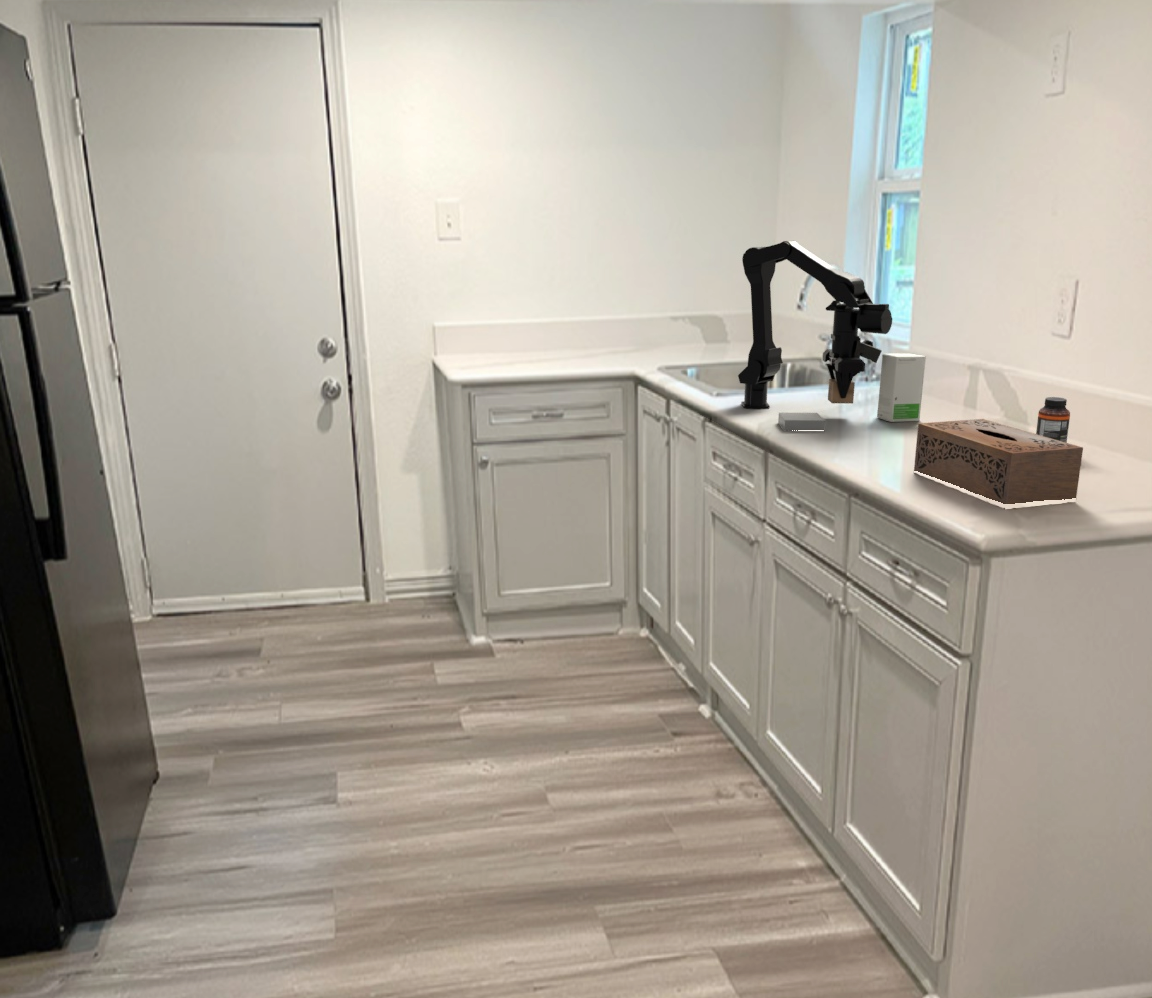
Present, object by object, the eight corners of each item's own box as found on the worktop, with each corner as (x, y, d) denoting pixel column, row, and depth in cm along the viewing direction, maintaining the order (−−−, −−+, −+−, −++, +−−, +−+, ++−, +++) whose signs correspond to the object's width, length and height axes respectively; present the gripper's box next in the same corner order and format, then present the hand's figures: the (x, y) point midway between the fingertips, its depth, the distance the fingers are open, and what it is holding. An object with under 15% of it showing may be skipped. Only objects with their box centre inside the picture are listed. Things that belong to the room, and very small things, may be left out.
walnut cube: (827, 399, 247) (829, 379, 246) (848, 399, 247) (850, 379, 246) (832, 403, 242) (833, 382, 241) (853, 403, 242) (854, 382, 241)
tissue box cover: (1075, 504, 175) (1083, 447, 172) (1005, 511, 171) (1012, 453, 168) (977, 469, 199) (982, 418, 196) (913, 474, 195) (918, 423, 192)
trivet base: (778, 425, 240) (778, 412, 239) (816, 425, 240) (817, 412, 239) (784, 433, 232) (785, 420, 231) (824, 433, 231) (825, 420, 230)
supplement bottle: (1038, 447, 215) (1045, 394, 212) (1068, 451, 211) (1075, 398, 208) (1030, 452, 211) (1036, 398, 208) (1060, 457, 207) (1067, 402, 204)
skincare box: (890, 422, 240) (895, 357, 236) (875, 417, 246) (880, 353, 242) (921, 421, 242) (927, 355, 238) (905, 415, 249) (911, 352, 244)
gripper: (890, 335, 231) (884, 403, 235) (870, 326, 249) (865, 389, 253) (840, 335, 231) (835, 403, 235) (824, 326, 249) (820, 389, 253)
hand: (840, 396), depth 244 cm, fingers closed on walnut cube, 5 cm apart
